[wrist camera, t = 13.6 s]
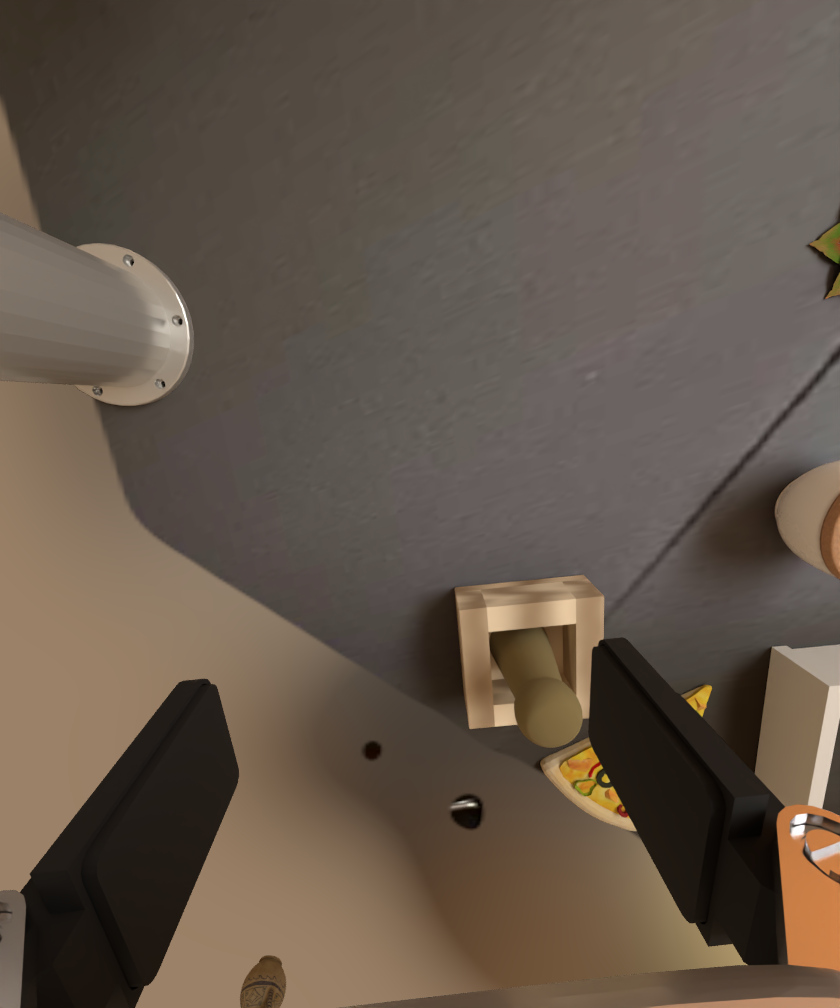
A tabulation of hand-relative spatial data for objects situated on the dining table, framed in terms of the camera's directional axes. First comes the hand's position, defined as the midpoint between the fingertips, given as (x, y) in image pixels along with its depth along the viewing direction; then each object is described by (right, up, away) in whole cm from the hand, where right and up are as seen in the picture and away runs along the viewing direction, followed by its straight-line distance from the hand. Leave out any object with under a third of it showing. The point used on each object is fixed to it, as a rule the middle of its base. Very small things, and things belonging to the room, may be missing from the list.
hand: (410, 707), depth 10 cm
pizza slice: (+25, -22, +36) cm, 49 cm away
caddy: (+11, -9, +31) cm, 34 cm away
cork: (+10, -9, +31) cm, 34 cm away
